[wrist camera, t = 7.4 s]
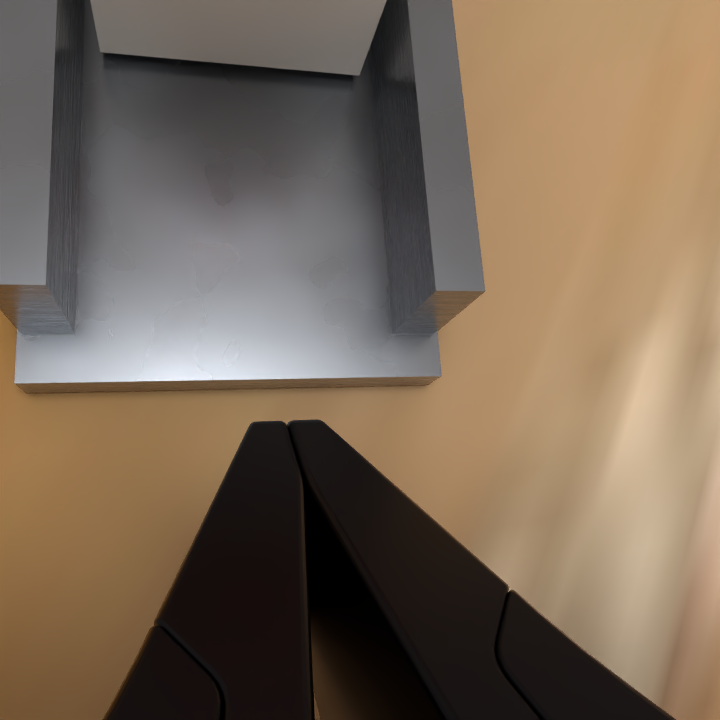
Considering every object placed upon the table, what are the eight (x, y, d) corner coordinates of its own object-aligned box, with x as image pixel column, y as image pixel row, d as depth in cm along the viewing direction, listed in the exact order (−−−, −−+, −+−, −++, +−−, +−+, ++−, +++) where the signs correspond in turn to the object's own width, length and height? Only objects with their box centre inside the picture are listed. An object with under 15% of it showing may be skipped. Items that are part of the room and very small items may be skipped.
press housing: (427, 385, 17) (519, 326, 12) (26, 393, 15) (-54, 325, 10) (383, -102, 20) (441, -296, 15) (51, -153, 18) (0, -398, 13)
